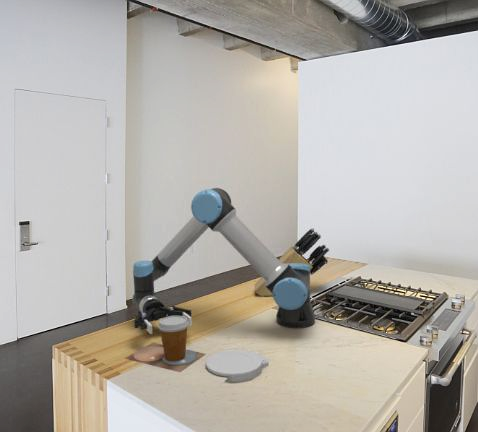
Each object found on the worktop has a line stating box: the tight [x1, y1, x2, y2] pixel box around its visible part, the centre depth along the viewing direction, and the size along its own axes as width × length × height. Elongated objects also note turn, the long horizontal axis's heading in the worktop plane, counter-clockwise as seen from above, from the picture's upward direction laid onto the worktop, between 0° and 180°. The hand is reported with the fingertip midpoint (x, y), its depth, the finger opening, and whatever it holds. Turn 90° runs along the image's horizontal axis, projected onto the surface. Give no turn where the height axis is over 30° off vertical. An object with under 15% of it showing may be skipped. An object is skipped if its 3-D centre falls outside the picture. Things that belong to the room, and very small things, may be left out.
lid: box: [205, 348, 269, 383], centre depth 134 cm, size 17×20×3 cm
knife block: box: [254, 227, 330, 297], centre depth 210 cm, size 11×35×31 cm, turn 89°
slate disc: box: [162, 349, 197, 366], centre depth 139 cm, size 11×11×1 cm
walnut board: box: [123, 342, 207, 373], centre depth 140 cm, size 22×14×2 cm, turn 61°
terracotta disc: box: [133, 346, 165, 362], centre depth 142 cm, size 11×11×1 cm
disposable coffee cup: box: [157, 316, 189, 361], centre depth 138 cm, size 10×10×12 cm
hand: (171, 325), depth 144 cm, fingers open, 13 cm apart
